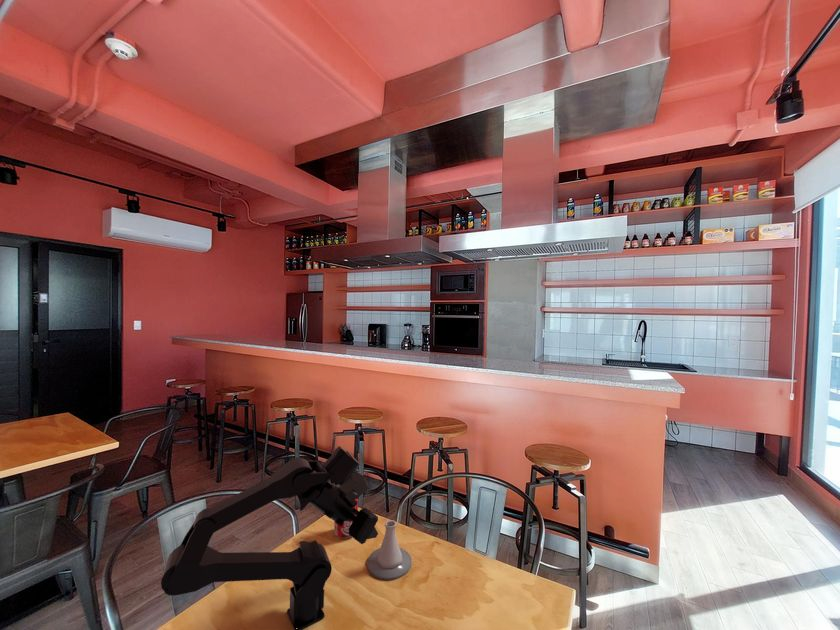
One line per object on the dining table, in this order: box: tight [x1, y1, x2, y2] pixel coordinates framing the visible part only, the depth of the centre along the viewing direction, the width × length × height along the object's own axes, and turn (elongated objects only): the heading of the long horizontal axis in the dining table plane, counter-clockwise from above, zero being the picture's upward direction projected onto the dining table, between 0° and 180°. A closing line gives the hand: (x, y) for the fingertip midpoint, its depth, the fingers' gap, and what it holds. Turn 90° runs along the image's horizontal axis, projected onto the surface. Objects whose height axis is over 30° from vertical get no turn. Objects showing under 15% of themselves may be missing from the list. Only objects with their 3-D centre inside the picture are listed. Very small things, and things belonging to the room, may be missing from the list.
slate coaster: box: [366, 547, 412, 581], centre depth 94 cm, size 12×12×1 cm
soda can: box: [333, 498, 359, 540], centre depth 106 cm, size 7×7×12 cm
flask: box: [377, 519, 402, 568], centre depth 94 cm, size 7×7×10 cm
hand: (365, 527), depth 87 cm, fingers open, 9 cm apart
